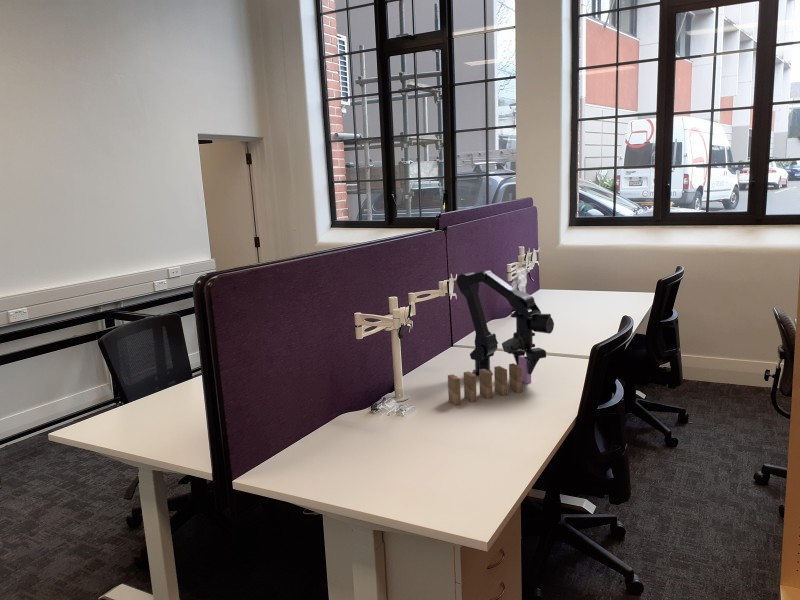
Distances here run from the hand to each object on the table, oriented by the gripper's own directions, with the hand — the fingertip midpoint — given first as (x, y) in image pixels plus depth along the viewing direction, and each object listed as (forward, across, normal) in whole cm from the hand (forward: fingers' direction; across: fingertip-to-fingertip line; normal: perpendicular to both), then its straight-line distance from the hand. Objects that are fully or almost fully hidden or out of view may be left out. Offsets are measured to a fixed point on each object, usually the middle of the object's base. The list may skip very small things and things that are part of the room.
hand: (524, 371), depth 222 cm
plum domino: (+4, 0, 0) cm, 4 cm away
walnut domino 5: (+4, +7, -8) cm, 11 cm away
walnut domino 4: (+4, +7, -14) cm, 16 cm away
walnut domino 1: (+4, +7, -32) cm, 33 cm away
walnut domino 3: (+4, +7, -20) cm, 22 cm away
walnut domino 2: (+4, +7, -26) cm, 27 cm away
